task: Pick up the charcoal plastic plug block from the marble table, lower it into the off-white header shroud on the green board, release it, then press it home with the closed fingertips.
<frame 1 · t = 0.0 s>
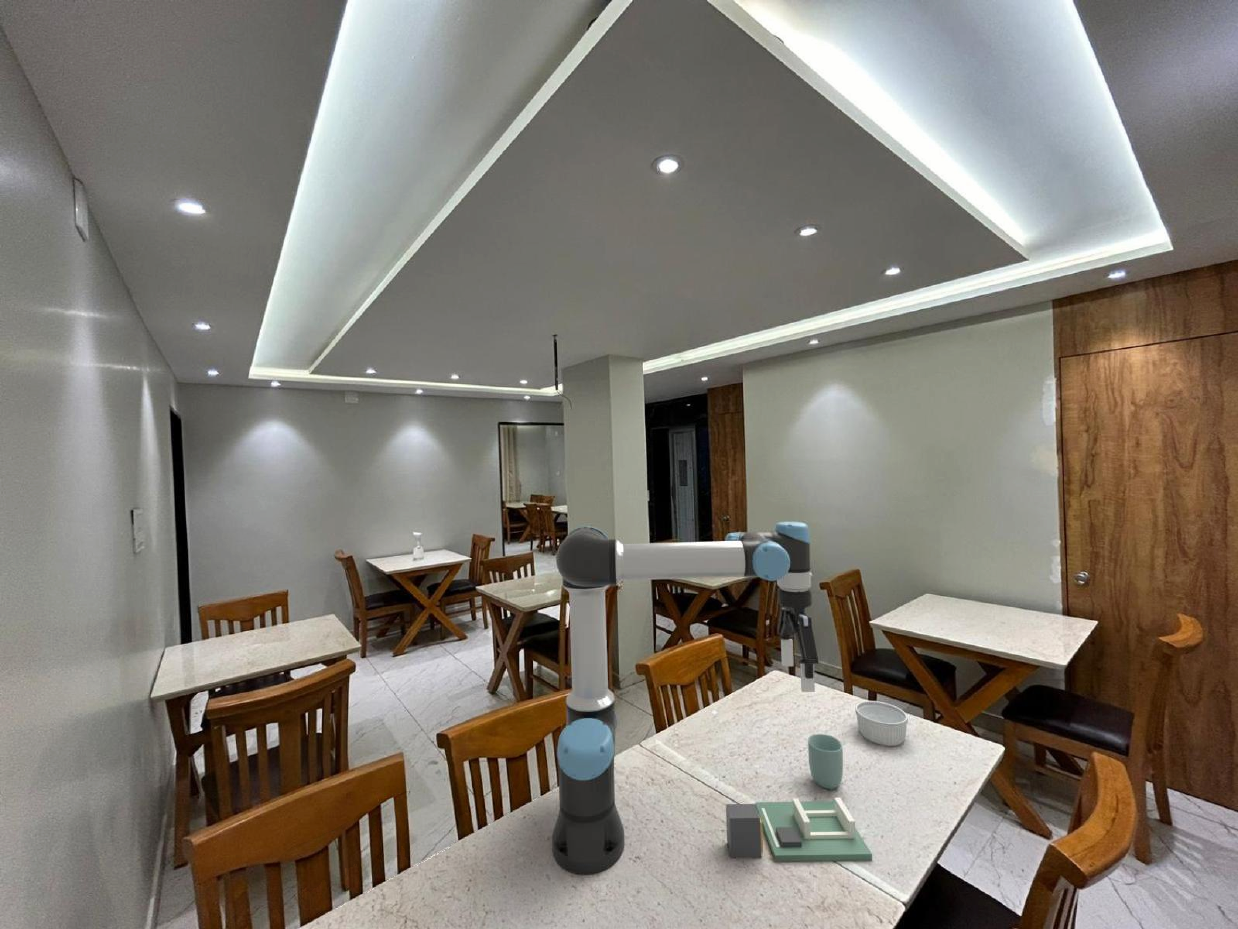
hand: (797, 677, 113), 28 cm above the table, fingers open, 13 cm apart
plug: (743, 850, 98), on the table
ramekin: (881, 736, 137), on the table
board: (809, 832, 102), on the table
cup: (826, 784, 117), on the table
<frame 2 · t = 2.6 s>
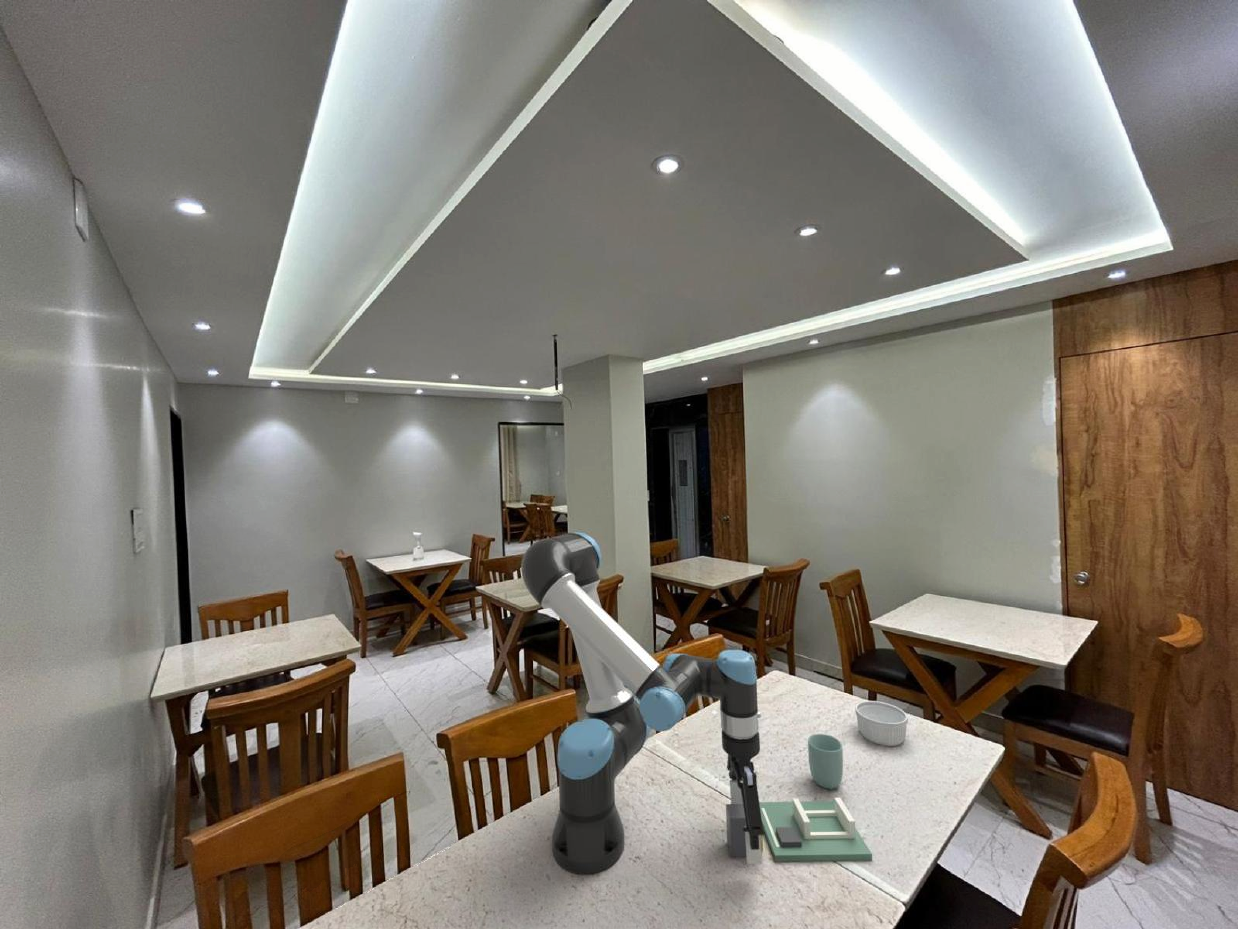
hand: (745, 835, 97), 3 cm above the table, fingers open, 13 cm apart
nothing on the table moved.
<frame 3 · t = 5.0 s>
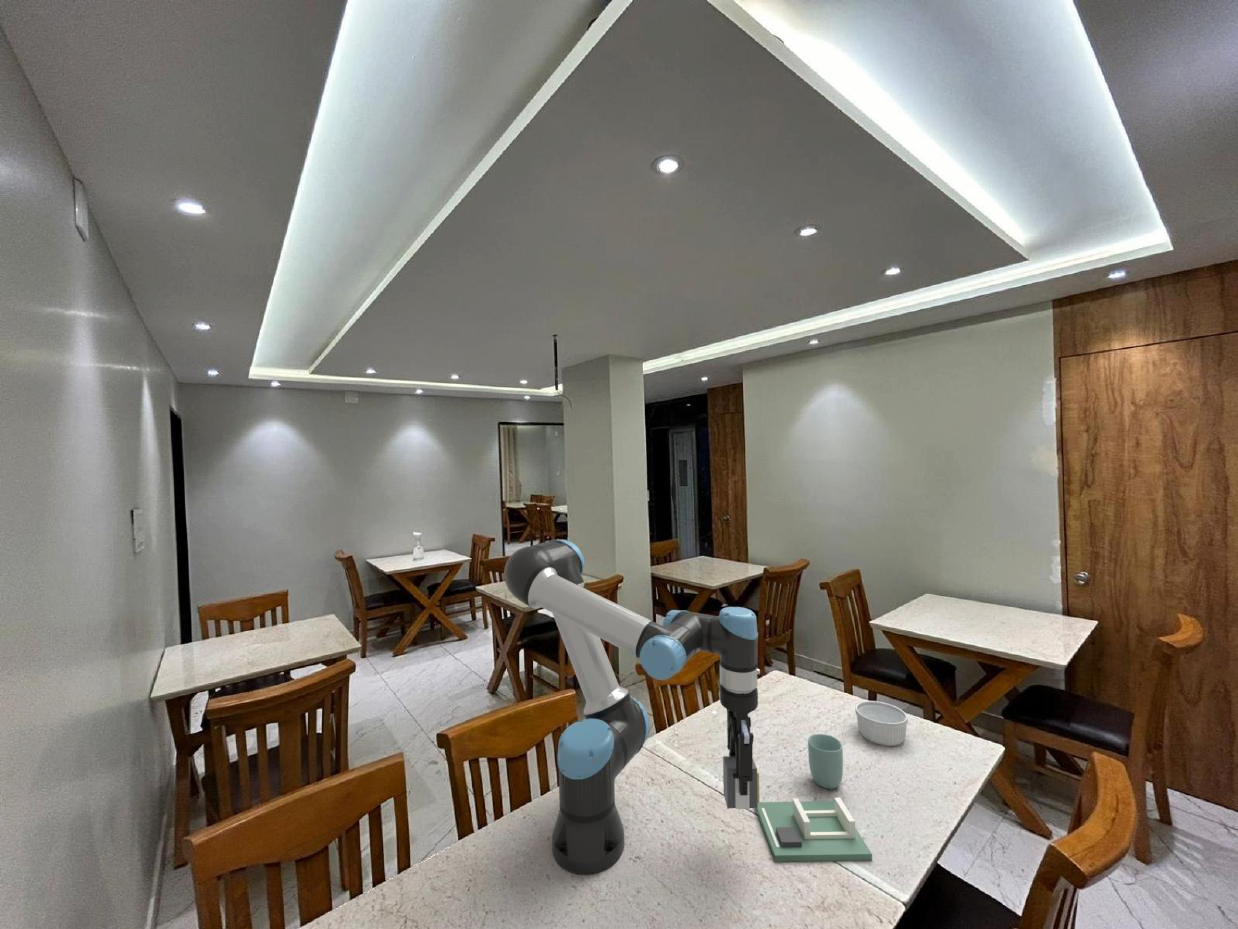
hand: (739, 799, 98), 10 cm above the table, fingers closed on plug, 4 cm apart
plug: (740, 801, 98), point 10 cm above the table, touching gripper
everything else where it was.
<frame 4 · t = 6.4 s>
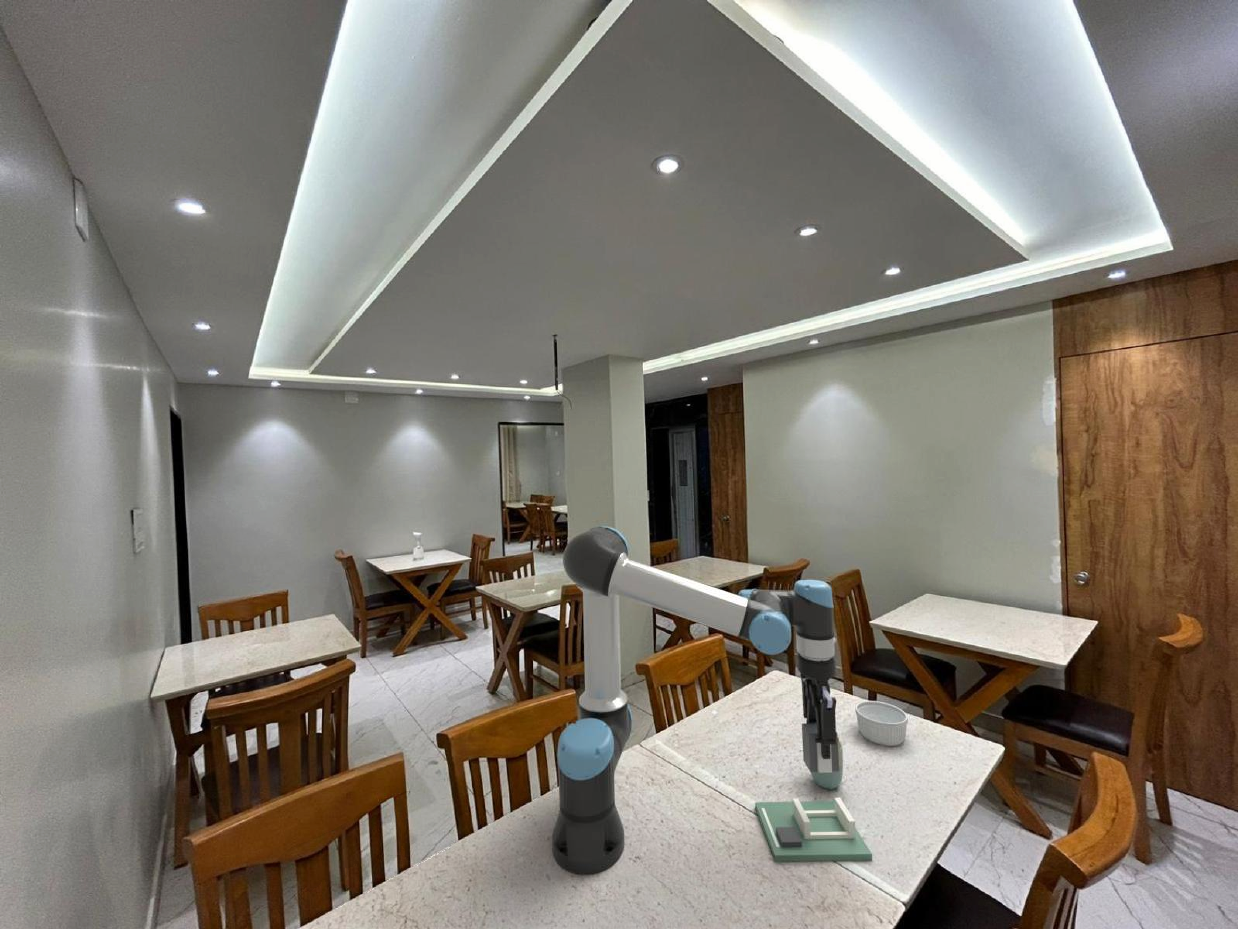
hand: (820, 764, 102), 14 cm above the table, fingers closed on plug, 4 cm apart
plug: (821, 765, 102), point 14 cm above the table, touching gripper
everything else where it was.
when the fingers open (3 cm above the table, at t = 8.1 s): plug drops 2 cm, resting on board.
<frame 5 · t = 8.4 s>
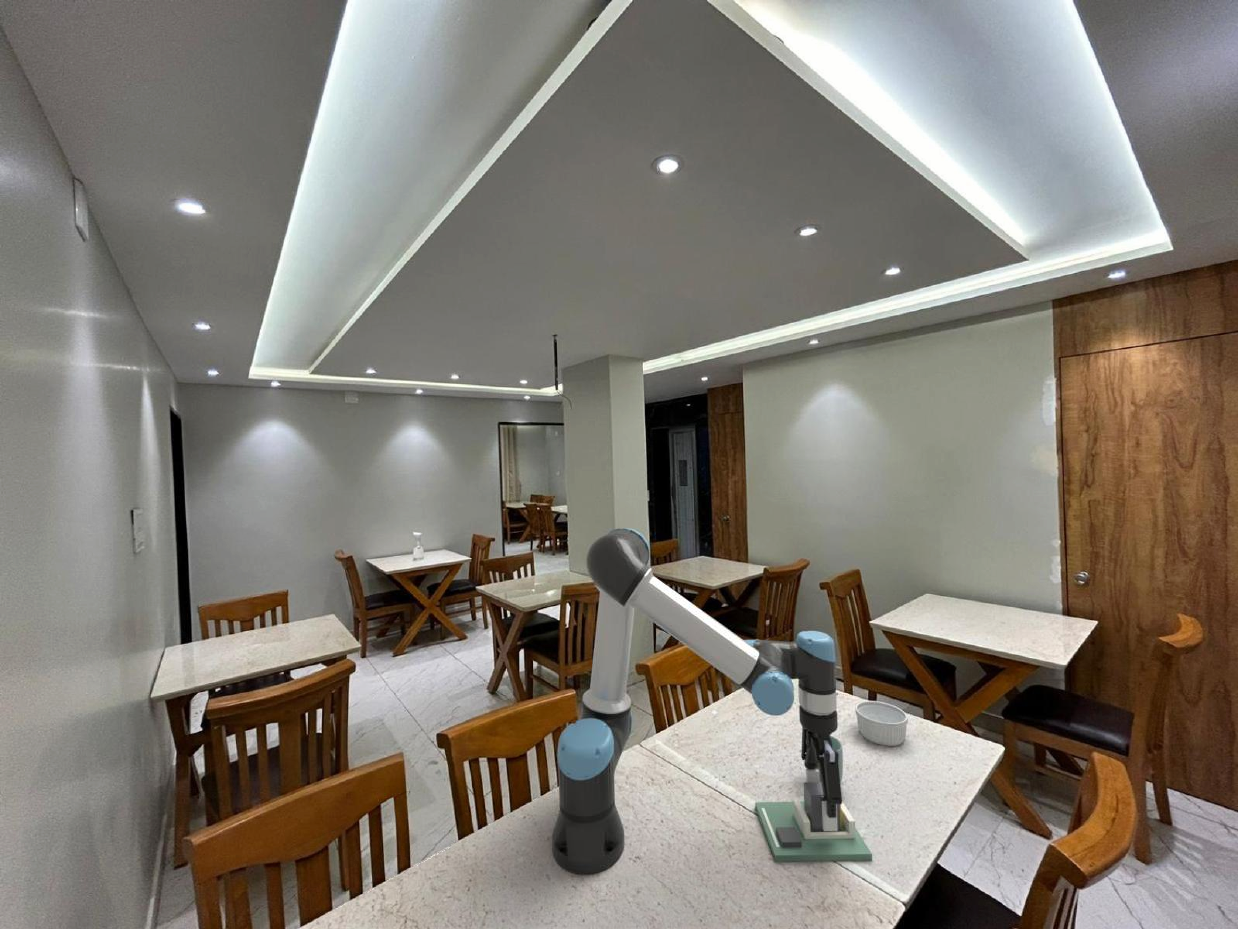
hand: (821, 814, 102), 4 cm above the table, fingers open, 8 cm apart
plug: (822, 826, 102), point 1 cm above the table, touching board
everything else where it was.
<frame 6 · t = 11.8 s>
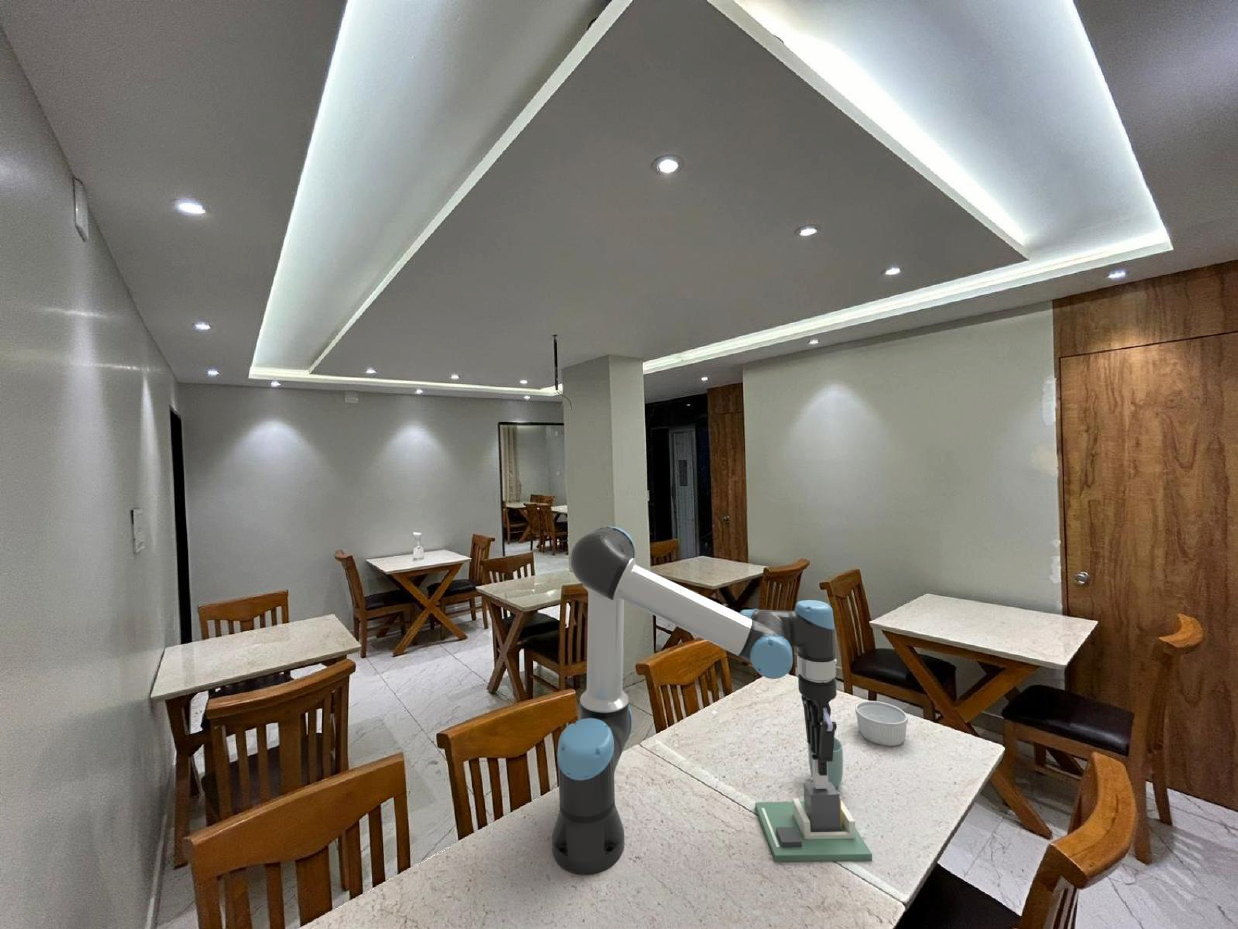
hand: (820, 786, 102), 10 cm above the table, fingers closed
nothing on the table moved.
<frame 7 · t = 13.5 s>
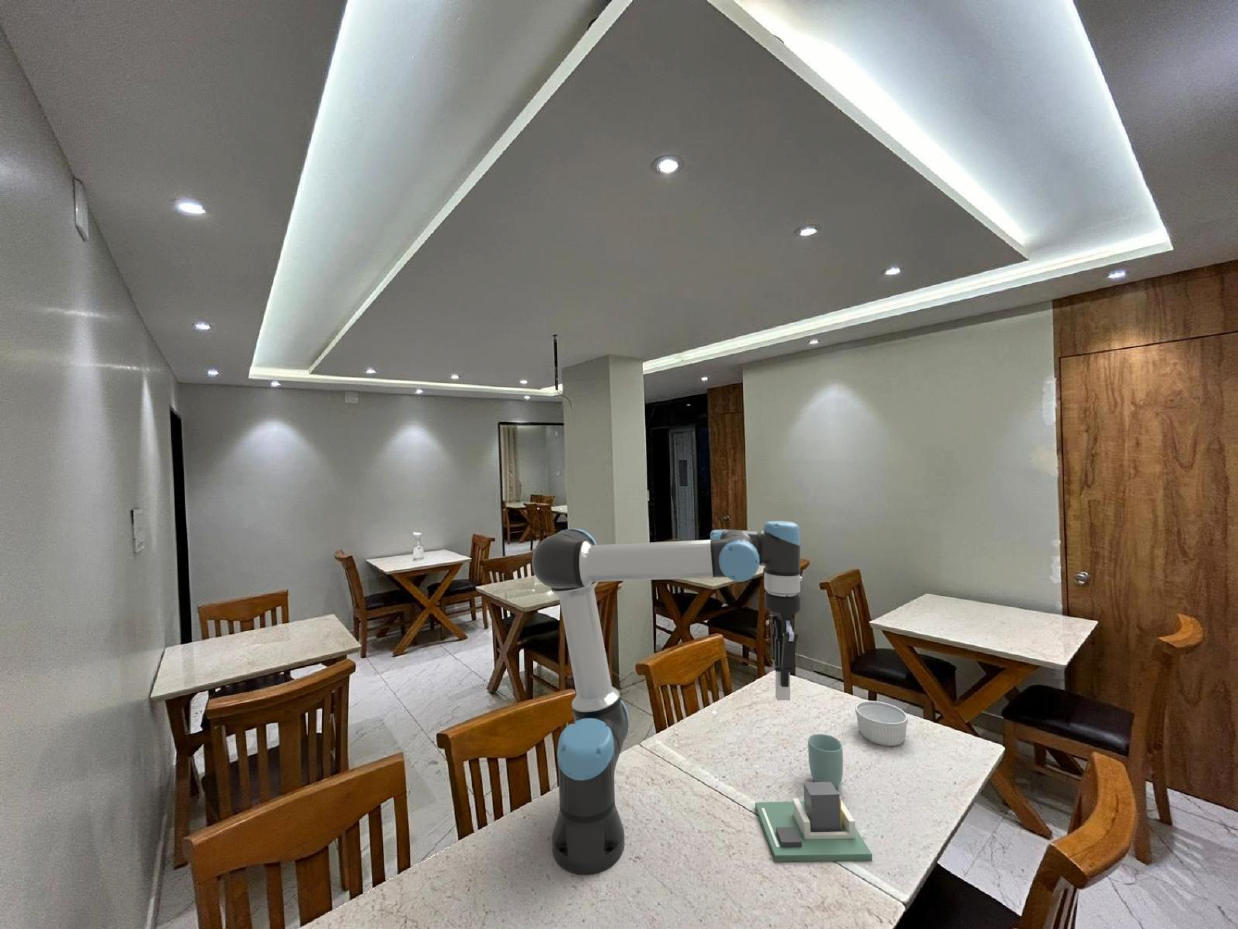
hand: (782, 698, 105), 27 cm above the table, fingers closed
nothing on the table moved.
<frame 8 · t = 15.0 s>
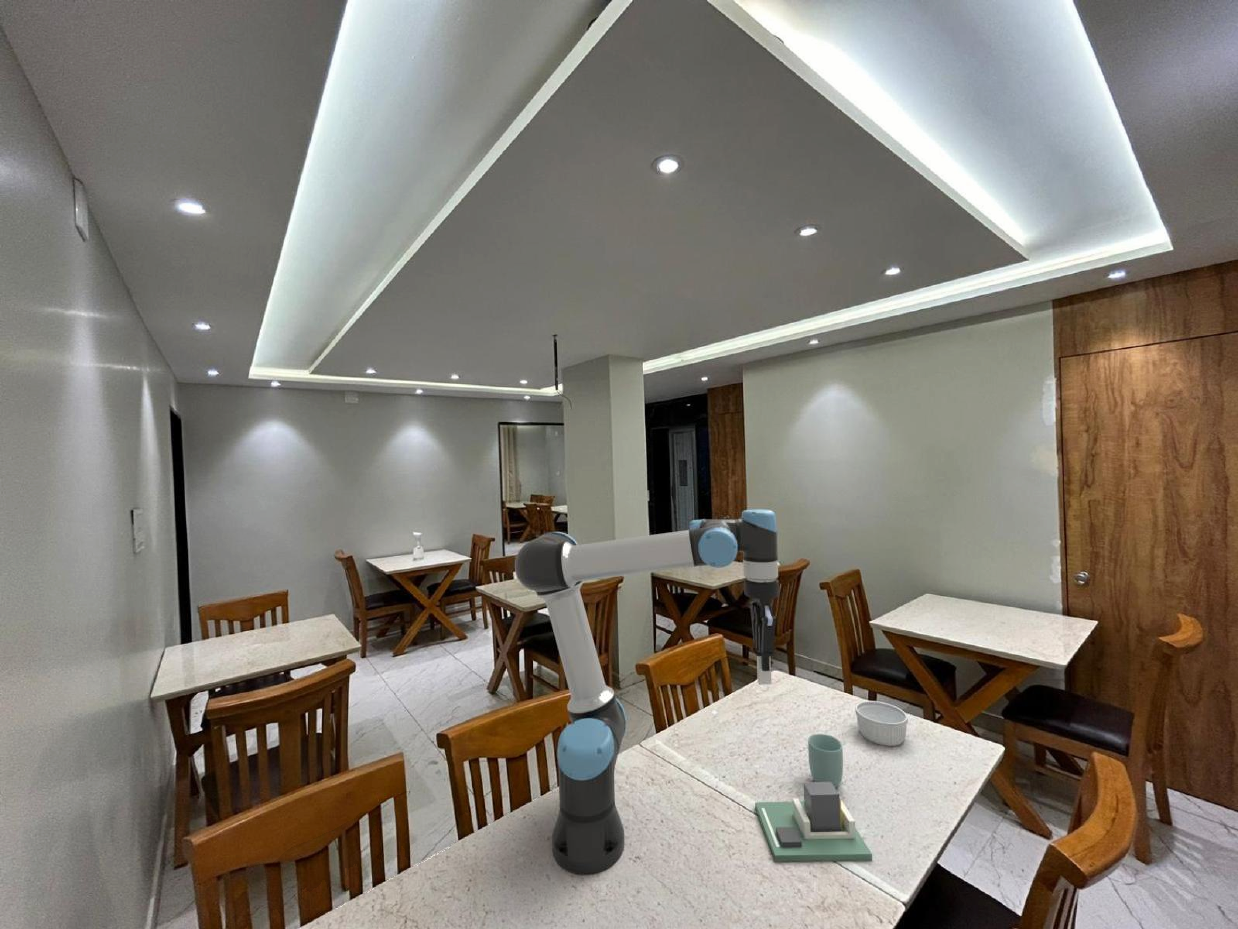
hand: (764, 682, 108), 29 cm above the table, fingers closed
nothing on the table moved.
at the end: plug 0.0 cm from the target spot on the board, point 1.2 cm above the board's base; plug tilted 0°; the gripper is holding nothing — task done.
